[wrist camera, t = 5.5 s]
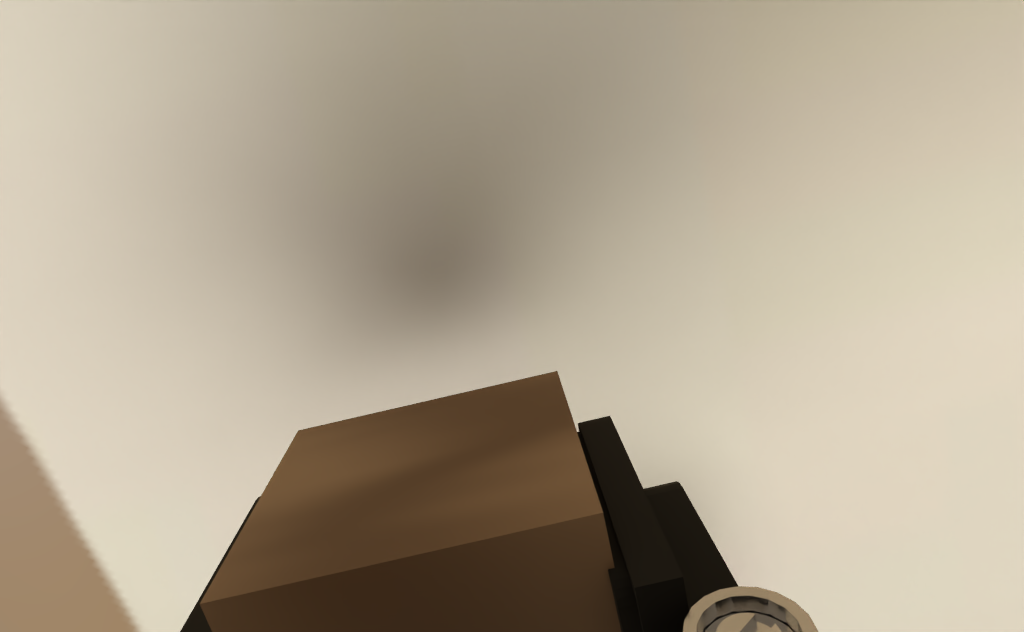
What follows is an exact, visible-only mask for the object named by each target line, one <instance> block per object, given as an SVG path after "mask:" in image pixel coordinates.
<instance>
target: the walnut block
mask: <svg viewBox="0 0 1024 632" xmlns="http://www.w3.org/2000/svg"><path fill="white" fill-rule="evenodd" d="M612 568H615V567H614V562H613V557H612V552H611V548H610V543H609V538H608V533H607V529H606V524H605V519H604V515H603V511H602V508H601V505H600V502H599V498H598V495H597V492H596V489H595V486H594V483H593V480H592V477H591V474H590V471H589V468H588V465H587V462H586V458H585V455H584V452H583V449H582V446H581V443H580V440H579V437H578V434H577V431H576V428H575V425H574V422H573V418H572V415H571V412H570V409H569V406H568V403H567V400H566V397H565V394H564V391H563V388H562V385H561V382H560V378H559V375H558V372H557V371H556V372H551V373H547V374H543V375H538V376H534V377H530V378H525V379H521V380H516V381H512V382H508V383H503V384H499V385H495V386H490V387H486V388H482V389H477V390H473V391H469V392H464V393H460V394H456V395H451V396H447V397H443V398H438V399H434V400H429V401H425V402H421V403H416V404H412V405H408V406H403V407H399V408H395V409H390V410H386V411H382V412H377V413H373V414H369V415H364V416H360V417H356V418H351V419H347V420H342V421H338V422H334V423H329V424H325V425H321V426H316V427H312V428H308V429H303V430H299V431H298V432H297V434H296V436H295V437H294V439H293V441H292V443H291V444H290V446H289V448H288V450H287V451H286V453H285V455H284V457H283V458H282V460H281V462H280V464H279V465H278V467H277V469H276V471H275V472H274V474H273V476H272V478H271V479H270V481H269V483H268V485H267V486H266V488H265V490H264V492H263V494H262V495H261V497H260V499H259V501H258V502H257V504H256V506H255V508H254V509H253V511H252V513H251V515H250V516H249V518H248V520H247V522H246V523H245V525H244V527H243V529H242V530H241V532H240V534H239V536H238V537H237V539H236V541H235V543H234V544H233V546H232V548H231V550H230V551H229V553H228V555H227V557H226V558H225V560H224V562H223V564H222V565H221V567H220V569H219V571H218V572H217V574H216V576H215V578H214V580H213V581H212V583H211V585H210V587H209V588H208V590H207V592H206V594H205V595H204V597H203V599H202V601H201V602H200V606H201V608H202V610H203V613H204V615H205V617H206V619H207V621H208V624H209V626H210V628H211V630H212V632H621V628H620V623H619V619H618V614H617V610H616V605H615V600H614V596H613V591H612V587H611V582H610V577H609V573H608V569H612Z"/></svg>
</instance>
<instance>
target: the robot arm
mask: <svg viewBox="0 0 1024 632" xmlns="http://www.w3.org/2000/svg"><path fill="white" fill-rule="evenodd" d="M578 427H579V432H577V434H578V437H579V440H580V443H581V446H582V449H583V452H584V455H585V458H586V462H587V465H588V468H589V471H590V474H591V477H592V480H593V483H594V486H595V489H596V492H597V495H598V498H599V502H600V505H601V508H602V511H603V515H604V519H605V524H606V529H607V533H608V538H609V543H610V548H611V552H612V557H613V562H614V567H615V568H612V569H608V573H609V577H610V582H611V587H612V591H613V596H614V600H615V605H616V610H617V614H618V619H619V623H620V628H621V632H818V630H817V628H816V626H815V625H814V623H813V621H812V619H811V618H810V616H809V614H808V613H806V612H805V611H804V610H803V609H802V608H801V607H800V606H799V605H798V604H797V603H796V602H794V601H792V600H790V599H789V598H787V597H785V596H783V595H781V594H779V593H777V592H774V591H770V590H766V589H762V588H759V587H743V586H738V585H737V583H736V581H735V580H734V578H733V576H732V574H731V572H730V571H729V569H728V567H727V565H726V564H725V562H724V560H723V558H722V556H721V555H720V553H719V551H718V549H717V548H716V546H715V544H714V542H713V540H712V539H711V537H710V535H709V533H708V532H707V530H706V528H705V526H704V524H703V523H702V521H701V519H700V517H699V516H698V514H697V512H696V510H695V509H694V507H693V505H692V503H691V501H690V500H689V498H688V496H687V494H686V493H685V491H684V489H683V487H682V486H681V484H680V483H679V482H677V481H676V482H672V483H668V484H663V485H659V486H655V487H650V488H646V489H643V488H642V485H641V483H640V481H639V479H638V476H637V474H636V472H635V470H634V468H633V465H632V463H631V461H630V459H629V457H628V454H627V452H626V450H625V448H624V446H623V443H622V441H621V439H620V437H619V435H618V432H617V430H616V428H615V426H614V424H613V421H612V419H611V417H610V416H607V417H603V418H599V419H594V420H590V421H586V422H581V423H578ZM259 499H260V497H258V499H257V500H256V501H255V503H254V505H253V506H252V508H251V510H250V511H249V513H248V515H247V517H246V518H245V520H244V522H243V524H242V525H241V527H240V529H239V531H238V532H237V534H236V536H235V538H234V539H233V541H232V543H231V545H230V546H229V548H228V550H227V551H226V553H225V555H224V557H223V558H222V560H221V562H220V564H219V565H218V567H217V569H216V571H215V572H214V574H213V576H212V578H211V579H210V581H209V583H208V584H207V586H206V588H205V590H204V591H203V593H202V595H201V597H200V598H199V600H198V602H197V604H196V605H195V607H194V609H193V611H192V612H191V614H190V616H189V618H188V619H187V621H186V623H185V624H184V626H183V628H182V630H181V631H180V632H212V630H211V628H210V626H209V624H208V621H207V619H206V617H205V615H204V613H203V610H202V608H201V606H200V602H201V601H202V599H203V597H204V595H205V594H206V592H207V590H208V588H209V587H210V585H211V583H212V581H213V580H214V578H215V576H216V574H217V572H218V571H219V569H220V567H221V565H222V564H223V562H224V560H225V558H226V557H227V555H228V553H229V551H230V550H231V548H232V546H233V544H234V543H235V541H236V539H237V537H238V536H239V534H240V532H241V530H242V529H243V527H244V525H245V523H246V522H247V520H248V518H249V516H250V515H251V513H252V511H253V509H254V508H255V506H256V504H257V502H258V501H259Z"/></svg>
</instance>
